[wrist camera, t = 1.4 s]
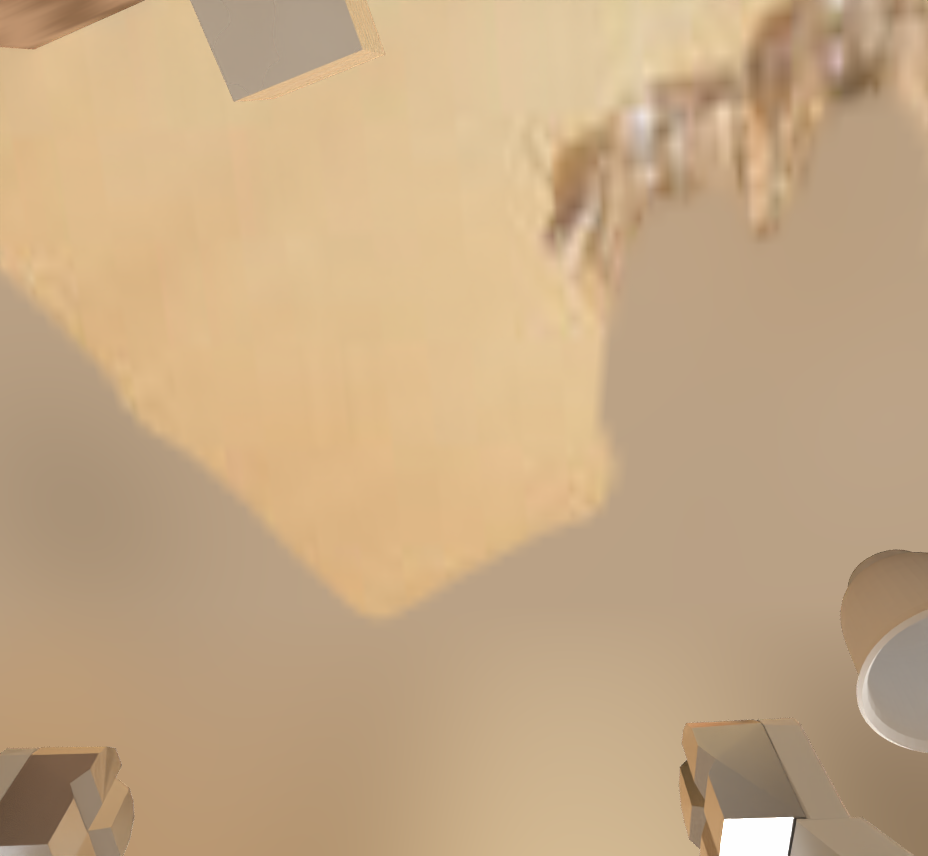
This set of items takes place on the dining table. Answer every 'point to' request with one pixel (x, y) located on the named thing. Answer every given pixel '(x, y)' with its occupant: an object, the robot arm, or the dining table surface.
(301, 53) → the steel handle
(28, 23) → the wooden box
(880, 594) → the teacup
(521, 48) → the dining table surface
